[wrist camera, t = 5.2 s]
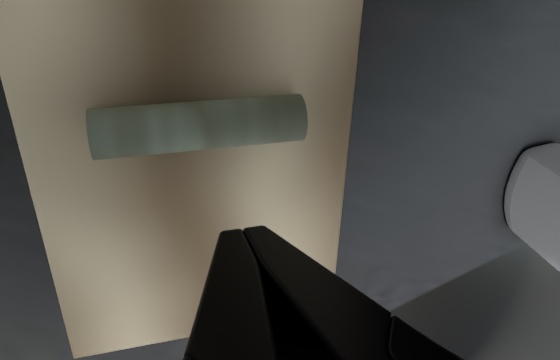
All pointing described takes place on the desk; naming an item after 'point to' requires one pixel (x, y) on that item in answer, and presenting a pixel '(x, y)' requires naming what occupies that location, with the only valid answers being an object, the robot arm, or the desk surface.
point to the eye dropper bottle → (536, 200)
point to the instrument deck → (174, 144)
